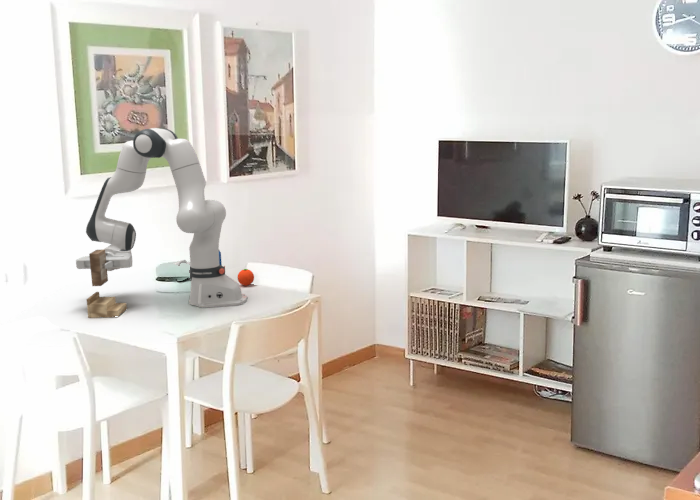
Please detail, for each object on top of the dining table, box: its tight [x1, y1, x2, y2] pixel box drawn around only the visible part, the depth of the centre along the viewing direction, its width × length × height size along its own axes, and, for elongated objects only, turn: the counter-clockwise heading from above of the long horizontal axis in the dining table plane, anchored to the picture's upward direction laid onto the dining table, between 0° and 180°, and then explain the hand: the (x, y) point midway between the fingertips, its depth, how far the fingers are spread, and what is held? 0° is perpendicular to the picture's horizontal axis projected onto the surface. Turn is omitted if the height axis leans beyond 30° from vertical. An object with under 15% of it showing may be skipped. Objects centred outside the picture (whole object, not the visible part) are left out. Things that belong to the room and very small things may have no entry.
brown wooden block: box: [88, 248, 109, 287], centre depth 294 cm, size 3×8×12 cm, turn 179°
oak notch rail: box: [86, 291, 128, 319], centre depth 296 cm, size 11×11×7 cm
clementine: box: [237, 268, 255, 287], centre depth 334 cm, size 8×7×7 cm
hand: (97, 266), depth 293 cm, fingers closed on brown wooden block, 3 cm apart
